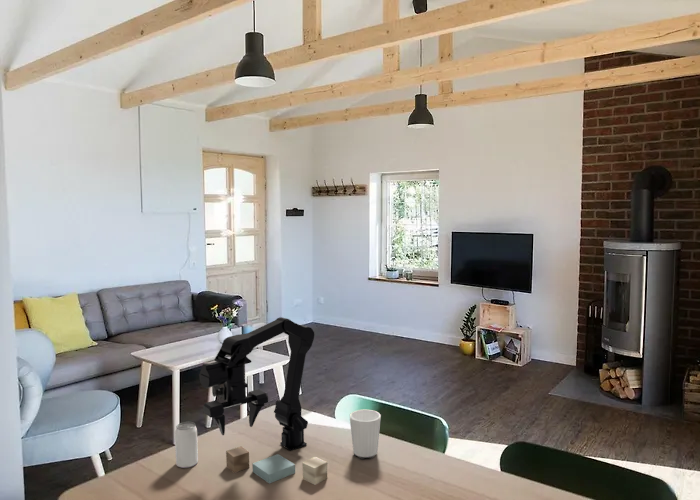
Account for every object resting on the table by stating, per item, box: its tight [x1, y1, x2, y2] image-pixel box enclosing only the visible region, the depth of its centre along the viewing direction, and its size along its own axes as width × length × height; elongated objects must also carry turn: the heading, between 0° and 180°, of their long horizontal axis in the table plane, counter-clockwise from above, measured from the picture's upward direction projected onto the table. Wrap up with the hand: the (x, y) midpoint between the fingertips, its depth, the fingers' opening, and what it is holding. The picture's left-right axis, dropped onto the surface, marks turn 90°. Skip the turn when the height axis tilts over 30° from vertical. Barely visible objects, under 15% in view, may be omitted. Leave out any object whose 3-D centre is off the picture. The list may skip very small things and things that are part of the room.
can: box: [174, 421, 199, 469], centre depth 164 cm, size 6×6×12 cm
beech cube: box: [302, 456, 328, 486], centre depth 155 cm, size 5×5×5 cm
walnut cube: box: [225, 446, 250, 474], centre depth 162 cm, size 5×5×5 cm
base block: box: [252, 453, 296, 485], centre depth 159 cm, size 9×9×3 cm
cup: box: [349, 408, 382, 460], centre depth 169 cm, size 10×10×13 cm
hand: (237, 430), depth 161 cm, fingers open, 9 cm apart
